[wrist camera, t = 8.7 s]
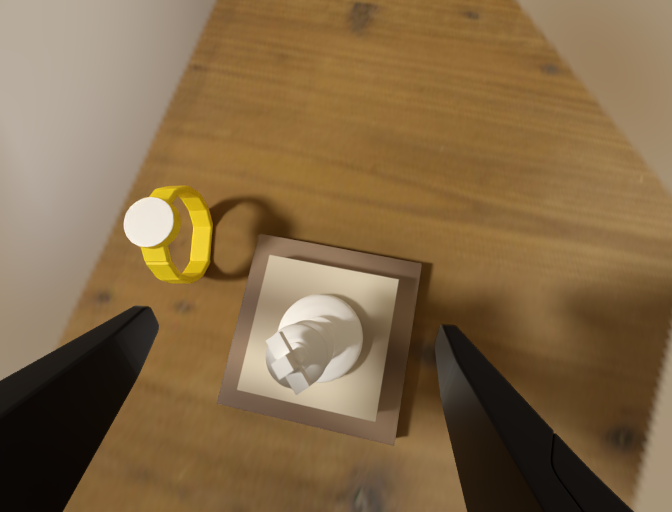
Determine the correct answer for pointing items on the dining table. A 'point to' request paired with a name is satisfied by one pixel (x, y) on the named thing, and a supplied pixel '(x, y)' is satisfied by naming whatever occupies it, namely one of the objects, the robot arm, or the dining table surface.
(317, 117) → the dining table surface
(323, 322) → the chess piece
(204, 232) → the watch
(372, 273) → the build base
